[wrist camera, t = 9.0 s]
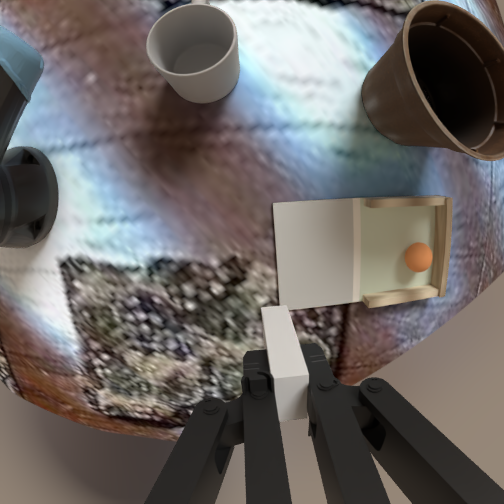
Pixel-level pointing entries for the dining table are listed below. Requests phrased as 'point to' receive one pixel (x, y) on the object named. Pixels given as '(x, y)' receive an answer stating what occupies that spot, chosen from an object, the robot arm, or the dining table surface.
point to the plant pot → (440, 84)
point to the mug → (196, 51)
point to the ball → (418, 257)
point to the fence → (439, 255)
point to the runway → (346, 250)
